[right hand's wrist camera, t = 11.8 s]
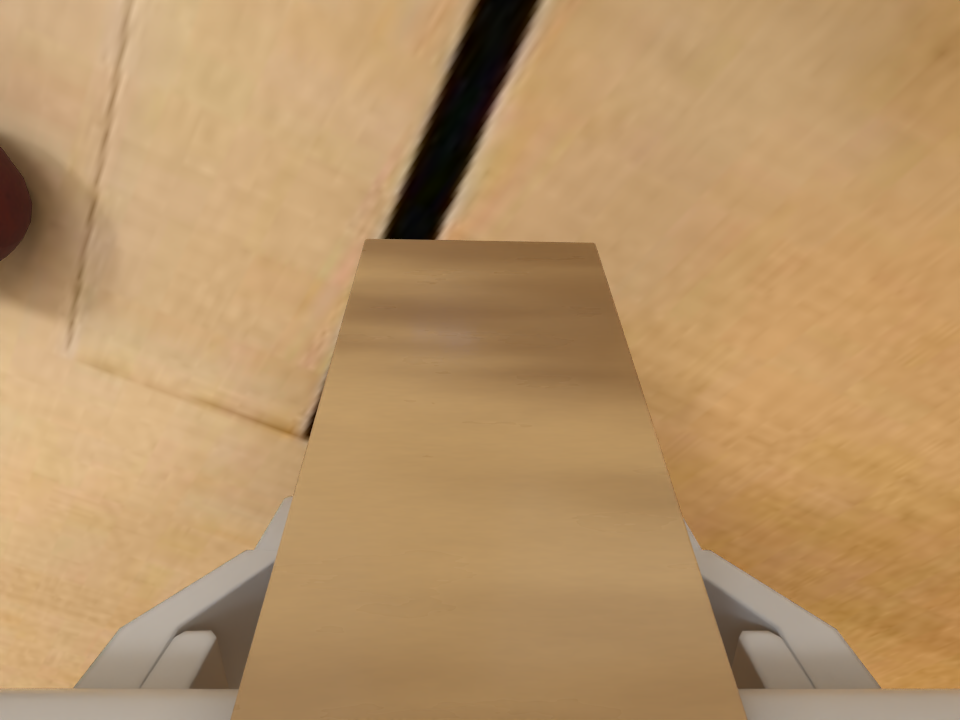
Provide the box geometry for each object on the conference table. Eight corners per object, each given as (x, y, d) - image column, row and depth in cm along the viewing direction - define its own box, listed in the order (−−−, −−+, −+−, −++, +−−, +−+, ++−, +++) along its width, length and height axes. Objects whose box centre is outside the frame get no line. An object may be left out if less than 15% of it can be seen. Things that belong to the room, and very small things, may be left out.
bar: (364, 237, 10) (196, 832, 4) (595, 241, 10) (784, 826, 4) (425, 652, 28) (411, 884, 21) (510, 652, 28) (522, 883, 21)
